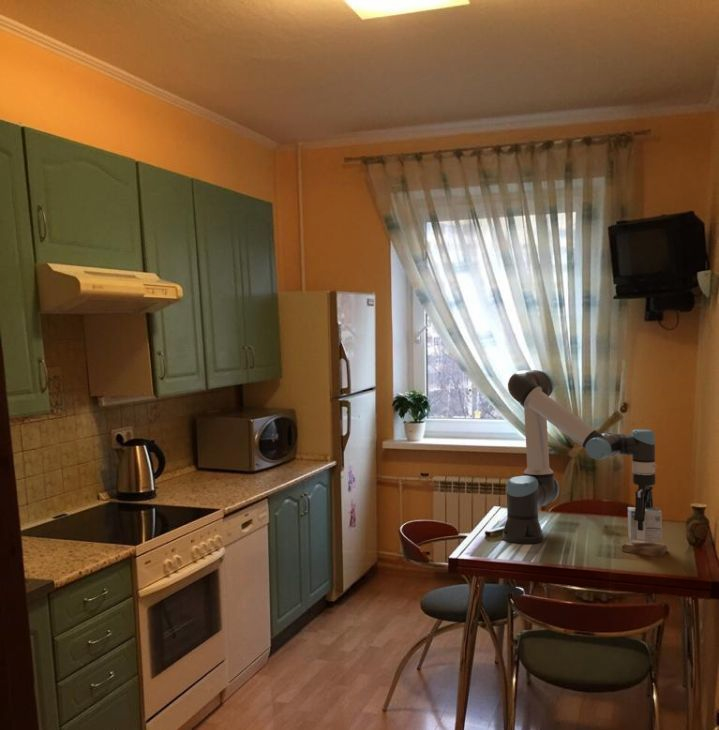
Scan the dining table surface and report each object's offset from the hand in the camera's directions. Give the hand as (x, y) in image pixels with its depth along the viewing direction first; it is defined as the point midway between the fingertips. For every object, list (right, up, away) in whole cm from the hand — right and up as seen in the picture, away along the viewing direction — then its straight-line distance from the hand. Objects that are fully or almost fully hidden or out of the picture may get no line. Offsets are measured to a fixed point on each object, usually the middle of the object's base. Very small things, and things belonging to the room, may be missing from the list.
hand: (644, 536), depth 236 cm
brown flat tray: (0, -5, 0) cm, 5 cm away
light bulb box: (0, -1, 0) cm, 1 cm away
